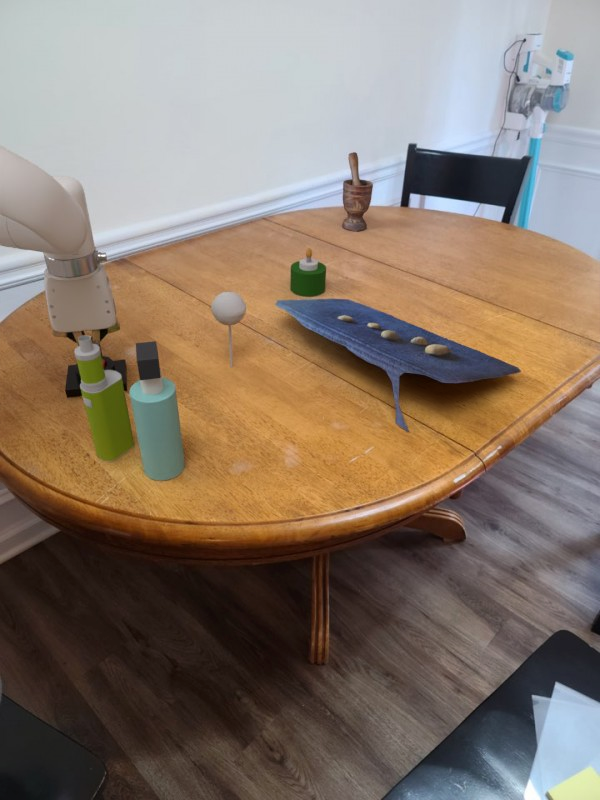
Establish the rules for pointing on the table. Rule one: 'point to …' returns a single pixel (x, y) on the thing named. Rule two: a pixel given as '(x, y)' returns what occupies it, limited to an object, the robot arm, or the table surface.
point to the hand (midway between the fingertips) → (94, 362)
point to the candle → (308, 277)
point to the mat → (394, 344)
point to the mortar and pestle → (356, 197)
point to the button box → (75, 379)
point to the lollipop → (229, 312)
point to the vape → (103, 403)
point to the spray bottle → (156, 417)
